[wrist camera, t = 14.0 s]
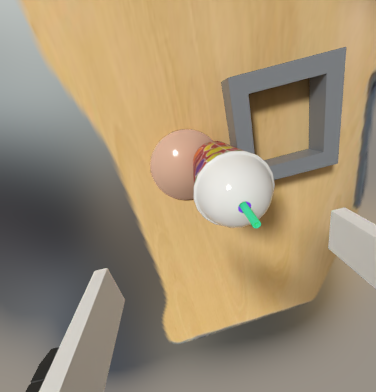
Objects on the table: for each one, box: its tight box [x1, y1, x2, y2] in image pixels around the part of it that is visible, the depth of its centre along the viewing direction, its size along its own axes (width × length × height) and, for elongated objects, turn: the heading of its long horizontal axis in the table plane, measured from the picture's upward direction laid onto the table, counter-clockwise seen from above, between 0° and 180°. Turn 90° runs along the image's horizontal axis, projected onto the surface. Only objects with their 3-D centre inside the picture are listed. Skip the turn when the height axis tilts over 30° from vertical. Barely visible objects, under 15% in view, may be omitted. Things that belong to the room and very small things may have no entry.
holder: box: [221, 47, 346, 180], centre depth 30 cm, size 16×16×4 cm
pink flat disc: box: [151, 129, 213, 200], centre depth 33 cm, size 12×12×1 cm
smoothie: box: [193, 141, 275, 228], centre depth 23 cm, size 8×8×20 cm
